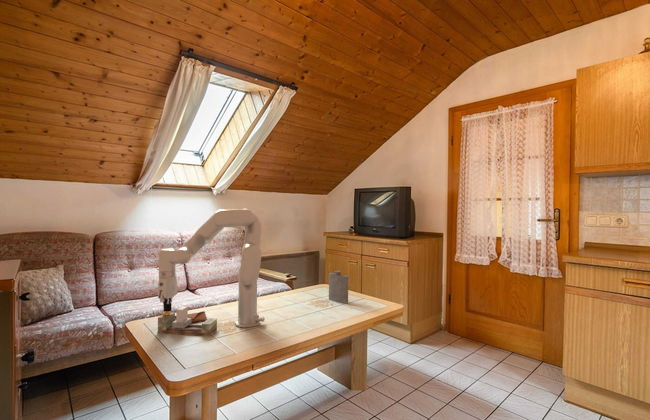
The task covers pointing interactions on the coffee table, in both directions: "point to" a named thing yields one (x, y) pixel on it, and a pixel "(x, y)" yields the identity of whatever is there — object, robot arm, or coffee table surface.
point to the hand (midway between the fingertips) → (167, 311)
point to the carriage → (181, 318)
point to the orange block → (166, 313)
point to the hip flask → (338, 287)
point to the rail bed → (203, 329)
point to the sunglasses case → (197, 317)
